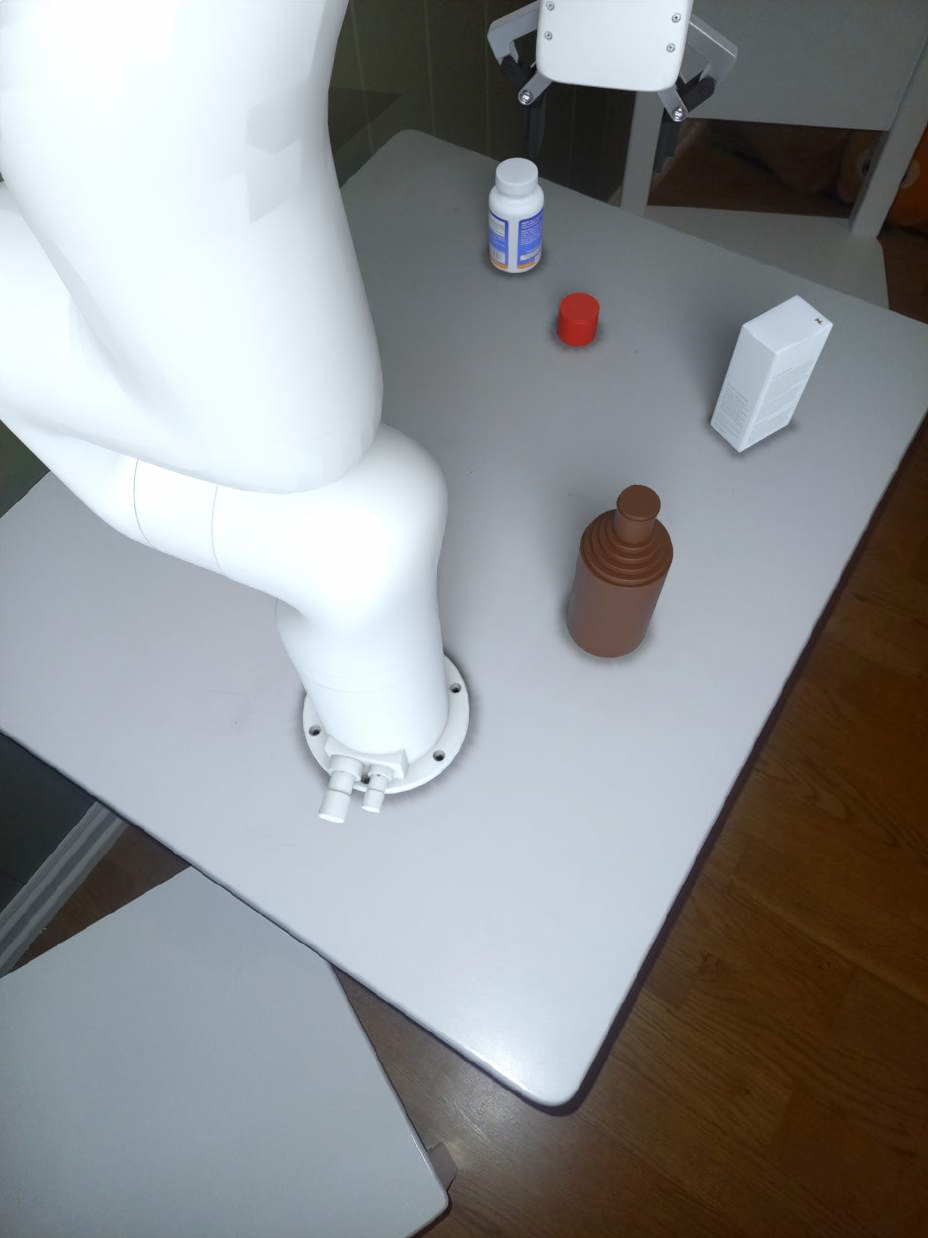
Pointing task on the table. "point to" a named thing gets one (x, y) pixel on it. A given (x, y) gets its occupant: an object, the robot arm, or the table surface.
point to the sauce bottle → (619, 575)
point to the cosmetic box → (769, 372)
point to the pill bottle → (516, 216)
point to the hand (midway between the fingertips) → (596, 154)
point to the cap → (578, 319)
